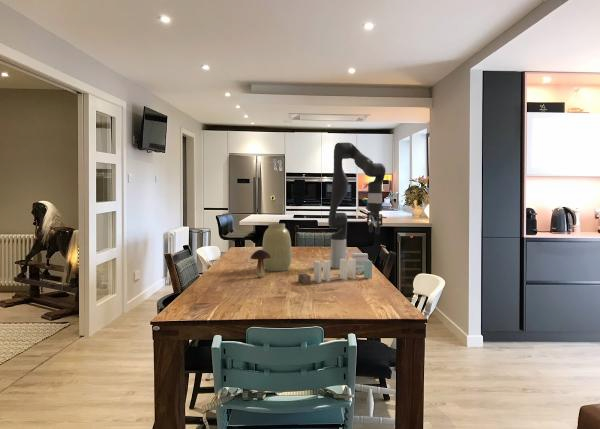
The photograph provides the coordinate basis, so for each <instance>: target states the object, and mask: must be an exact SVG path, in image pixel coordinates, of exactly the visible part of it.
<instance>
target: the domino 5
mask: <svg viewBox="0 0 600 429" xmlns="http://www.w3.org/2000/svg"><path fill="white" fill-rule="evenodd" d="M363 278H365V279H368V280H371V279H373V261H372V260H370V259H368V260H364V274H363Z"/></svg>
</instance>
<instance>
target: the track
mask: <svg viewBox="0 0 600 429" xmlns="http://www.w3.org/2000/svg"><path fill="white" fill-rule="evenodd" d="M297 275H298V277H297V280H294V281H293V282H294V283H295V284H298V285H301V286H310V285H318V284H319V285H320V284H328V283H331V284H332V283H338V282H339V283H341V282H350V281H351V282H352V281H360V280H363V278H362V277H358V276H356V279H351V278H348V275H347V280H344V279H341V278H340V276H337V277H330V281H328V282H327V281H325V280H323V278H321V282H316V281H314V279H311V278H312V277H311V275H310V274H307V273H304V272H303V273H302V272H300V273H298V274H297Z"/></svg>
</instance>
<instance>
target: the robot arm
mask: <svg viewBox="0 0 600 429" xmlns="http://www.w3.org/2000/svg"><path fill="white" fill-rule="evenodd" d="M347 159H348V160H349V159H352V160H353V161H354V164H355V165H356V167H358V168H359V169H360V170H362V171H363V173H364V175H366V177H370V178H374V179H373V181H370V182H368V186H367V201H366V202H367V203H366V204H367V205H366V206H367V207H366V208H367V209H366V210H367V213H366V224H368V232H369V233H373V232H375V235H380V233H381V227H382V226H383V214H382V213H380V212H382V211H383V194H382V192H383V183H384V179H385V175H386V172H387V171H386V167H385V165H384V163H381V162H380V163H379V162H378V163H377V162H376V163H375V162H374V161H373V160H372V159H371V158H369V157H368V156H366V155H364V154H363V153H362V152H361V151H360V150H359V149H358V148H357V146H355V144H353V143H352V142H336V144H335V145H334V149H333V173H332V174H333V176H332V181H331V182H332V183H331V184H332V185H331V195H330V196H331V197H330V206H329V213H328V226H329V228H331V229H339V230H337V231H336V232H334V233H332V234H331V235H330V269H331V268H332V269H337V270H340V259H345V260H347V234H348V232H347V231H348V214H346V212H337V211H338V207H339V206H340V204H341V203H342V201H343V200H344V199H345V197H346V195H347V194H348V191H349V190H348V188H349V180H348V179H349V178H348V177H347V175H346V173H345V171H344V169H343V160H347ZM374 225H375V228H374ZM374 229H375V231H374Z"/></svg>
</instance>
